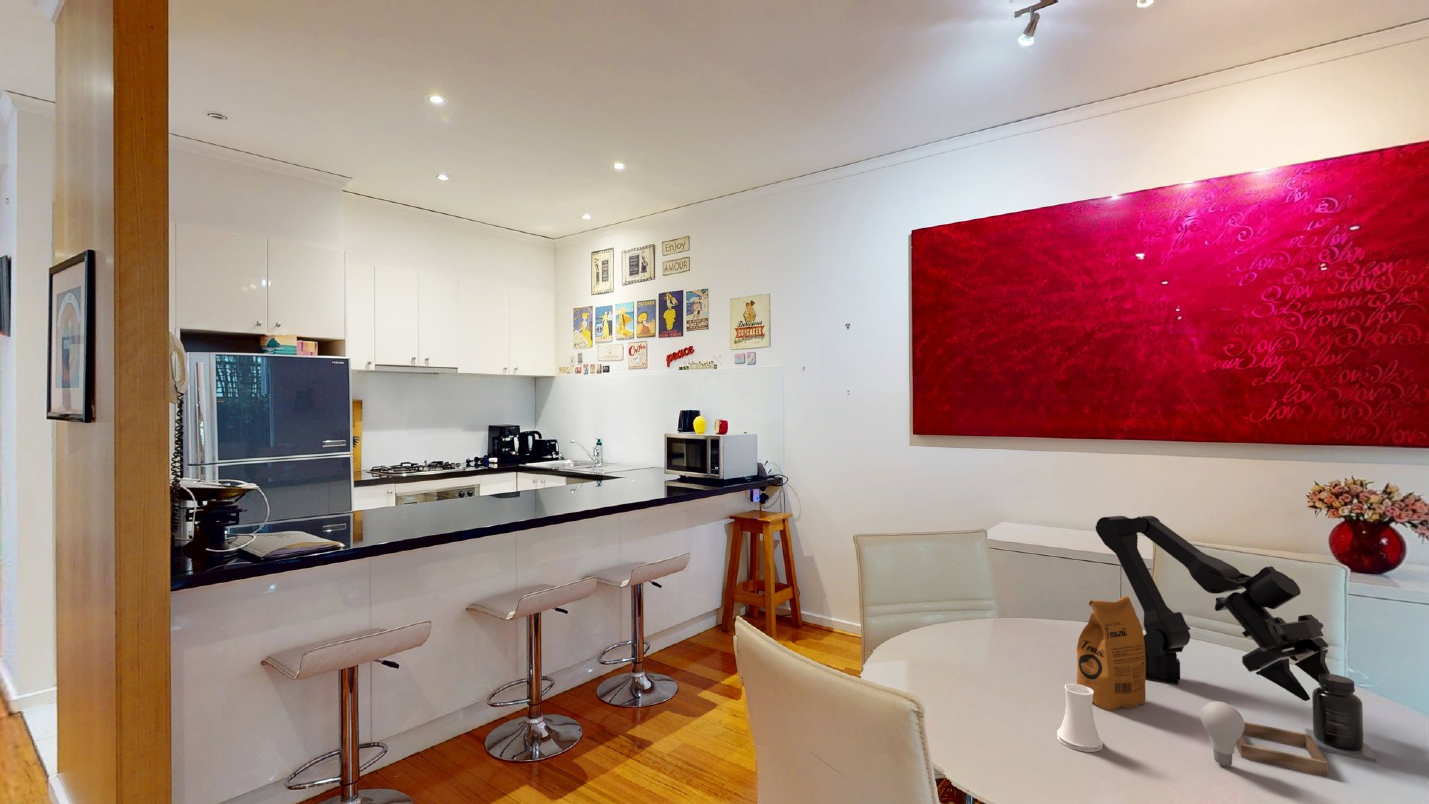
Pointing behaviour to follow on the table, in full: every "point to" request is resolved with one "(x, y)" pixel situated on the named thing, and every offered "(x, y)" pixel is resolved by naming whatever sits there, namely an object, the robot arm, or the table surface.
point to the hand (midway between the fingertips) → (1322, 696)
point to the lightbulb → (1222, 729)
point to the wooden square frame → (1311, 765)
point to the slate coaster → (1361, 754)
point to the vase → (1079, 720)
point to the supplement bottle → (1337, 713)
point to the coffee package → (1113, 655)
